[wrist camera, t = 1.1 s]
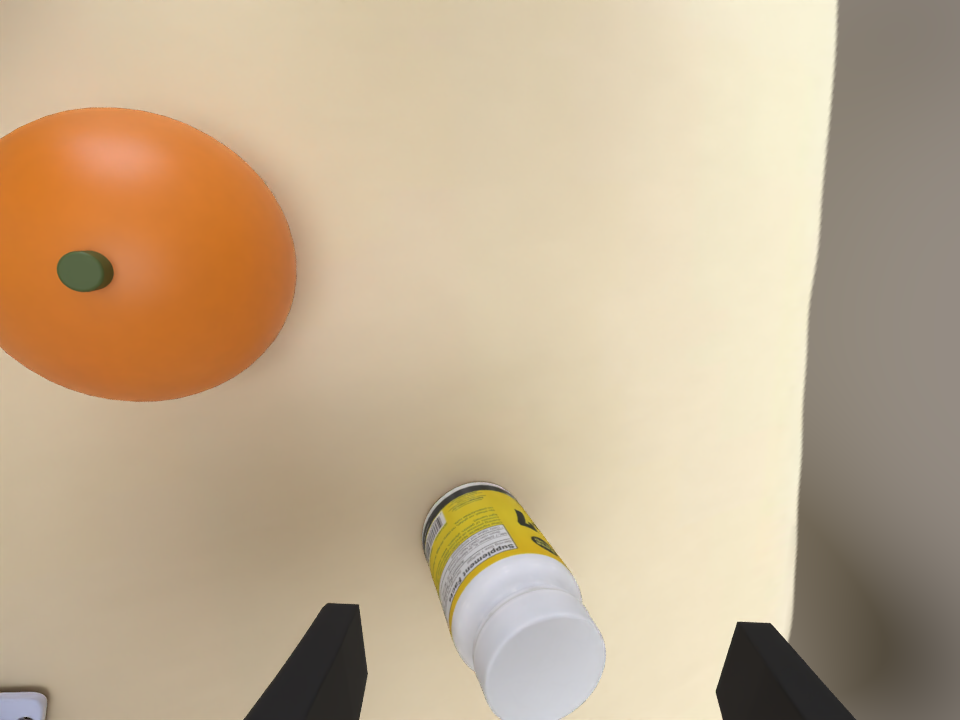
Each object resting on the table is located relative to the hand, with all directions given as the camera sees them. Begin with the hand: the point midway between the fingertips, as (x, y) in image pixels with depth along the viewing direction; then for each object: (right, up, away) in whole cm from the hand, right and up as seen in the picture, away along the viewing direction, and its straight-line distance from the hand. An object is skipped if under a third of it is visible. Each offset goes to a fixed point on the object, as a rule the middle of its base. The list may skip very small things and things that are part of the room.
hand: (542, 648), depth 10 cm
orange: (-11, +9, +8) cm, 16 cm away
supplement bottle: (-2, -2, +13) cm, 14 cm away
